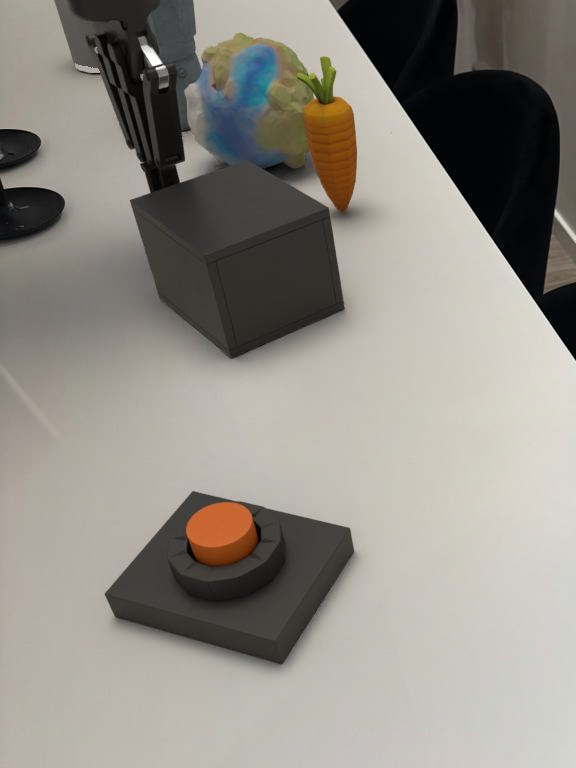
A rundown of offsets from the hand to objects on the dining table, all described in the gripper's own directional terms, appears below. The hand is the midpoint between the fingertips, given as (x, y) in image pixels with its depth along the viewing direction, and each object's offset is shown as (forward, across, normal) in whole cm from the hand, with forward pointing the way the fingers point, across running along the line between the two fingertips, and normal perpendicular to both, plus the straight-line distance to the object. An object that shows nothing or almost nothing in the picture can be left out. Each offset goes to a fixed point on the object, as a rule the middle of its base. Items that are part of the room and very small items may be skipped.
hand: (175, 227), depth 94 cm
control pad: (+1, -44, +19) cm, 48 cm away
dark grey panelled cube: (+2, -14, 0) cm, 14 cm away
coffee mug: (+4, +58, -19) cm, 61 cm away
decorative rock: (+3, +13, -18) cm, 22 cm away
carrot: (+3, -4, -16) cm, 17 cm away
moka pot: (+4, +32, -16) cm, 36 cm away
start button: (-2, -44, +19) cm, 48 cm away
